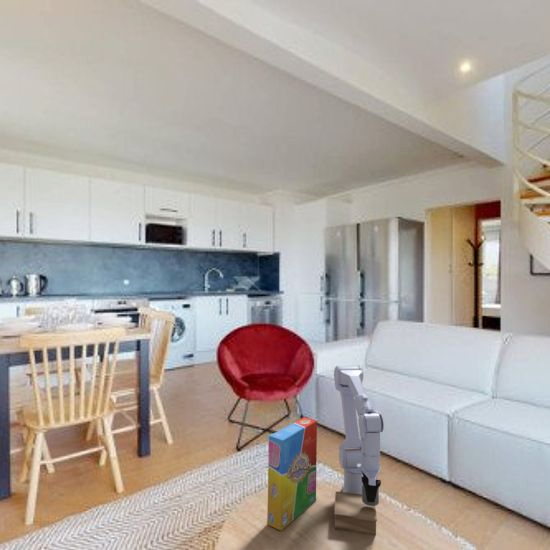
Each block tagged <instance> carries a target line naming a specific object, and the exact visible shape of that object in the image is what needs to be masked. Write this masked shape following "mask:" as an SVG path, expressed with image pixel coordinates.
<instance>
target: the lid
mask: <svg viewBox="0 0 550 550" xmlns="http://www.w3.org/2000/svg"><path fill="white" fill-rule="evenodd" d="M334 498H335V499H334V517H335V516H339V517H346V518H354V519H362V520H369V521H376V522H378V517H377V510H376V506H369V505H366V504H364V503H363V501H362V494H354V493H345V492H343V491H336V490H335V497H334Z"/></svg>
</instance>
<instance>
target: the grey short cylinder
mask: <svg viewBox="0 0 550 550" xmlns="http://www.w3.org/2000/svg"><path fill="white" fill-rule="evenodd" d="M379 488H380V487H379ZM379 488H378V491H377V494H376V499H375V502H374V503H373V502H367V498H366V491H365V487H364V485H363V486H362V501H363V503H364V504H366V505H369V506H375V507H376V506H377V505H379V502H380V501H379V500H380V498H379V497H380V494H379V492H380V489H379Z"/></svg>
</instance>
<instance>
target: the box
mask: <svg viewBox="0 0 550 550" xmlns="http://www.w3.org/2000/svg"><path fill="white" fill-rule="evenodd" d="M334 529H335V530H339V531H345V532H353V533H360V534H369V535H377V521H369V520H362V519H354V518H346V517H339V516H334Z"/></svg>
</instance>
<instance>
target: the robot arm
mask: <svg viewBox="0 0 550 550" xmlns="http://www.w3.org/2000/svg"><path fill="white" fill-rule="evenodd" d="M333 372H334V373H333V380H334V381H333V382H334V387H335V390H337V391H339V393H340V400H341V407H342V417H343V425H344V432H345V433H344V435H345V439H344V440H343V441H342V442H341V443H339V446H338V450H339V451H338V460H339V465H340V468H342V469H343V483H342V492H345V493H354V494H362V486H363V485H364V487H365V491H366V498H367V502H373V503H374V502H375V499H376V494H377V491H378V488H380V487H381V486H382V481H381V479H377V478H378V477H379V475H380V472H381V469H382V468H381V433H383V432H384V428H385V427H384V426H385V425H384V424H385V423H384V418H383V416H382V413H381V412H380V411H379V410H378V409H376V408H375V406H374V404H373V401H372V400H371V397H370V396H369V395H367V394H366V393H365V390H364V389H365V388H364V387H363V381H364V371H363V368H362V367H361V365H354V366H353V365H352V366H351V365H350V366H349V365H348V366H347V365H346V366H345V365H344V366H343V365H341V366H339V365H336V366H335V367H334V370H333ZM357 415H358V418H357ZM349 448H350V449H349Z"/></svg>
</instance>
